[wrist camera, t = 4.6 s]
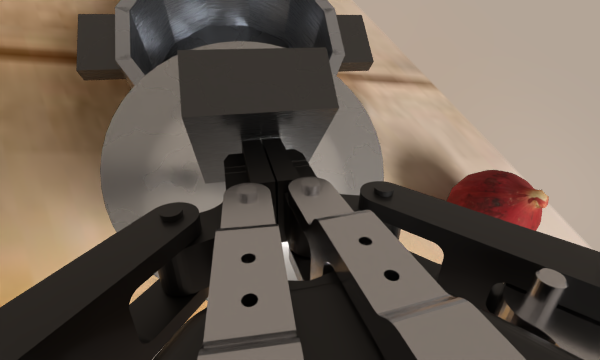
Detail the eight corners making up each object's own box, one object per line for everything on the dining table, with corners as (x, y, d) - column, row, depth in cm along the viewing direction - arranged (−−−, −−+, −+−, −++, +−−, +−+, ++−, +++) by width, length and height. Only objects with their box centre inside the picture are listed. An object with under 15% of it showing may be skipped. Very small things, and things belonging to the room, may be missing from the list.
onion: (428, 251, 26) (504, 239, 19) (424, 182, 28) (491, 146, 20) (494, 257, 27) (592, 247, 19) (486, 189, 29) (572, 156, 21)
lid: (106, 330, 15) (-30, 379, 7) (107, 52, 19) (19, -99, 11) (404, 277, 18) (521, 273, 10) (350, 48, 22) (407, -74, 14)
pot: (115, 183, 24) (67, 145, 17) (114, 23, 27) (75, -59, 21) (357, 160, 27) (394, 121, 21) (327, 23, 31) (351, -47, 25)
